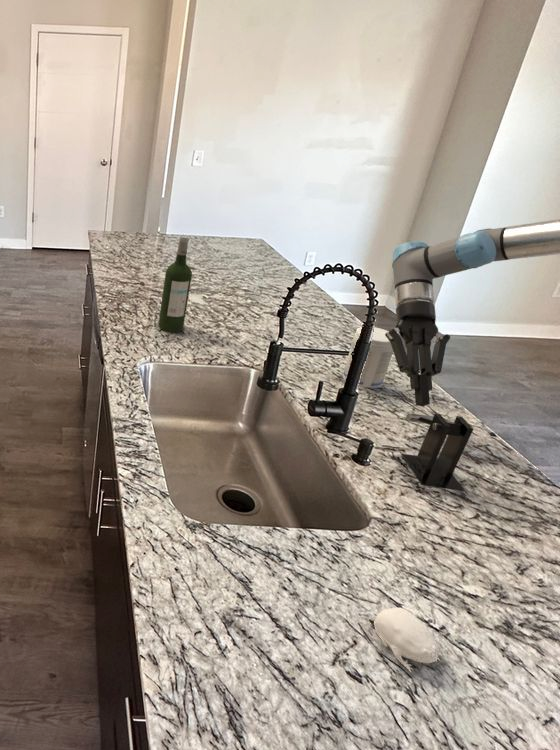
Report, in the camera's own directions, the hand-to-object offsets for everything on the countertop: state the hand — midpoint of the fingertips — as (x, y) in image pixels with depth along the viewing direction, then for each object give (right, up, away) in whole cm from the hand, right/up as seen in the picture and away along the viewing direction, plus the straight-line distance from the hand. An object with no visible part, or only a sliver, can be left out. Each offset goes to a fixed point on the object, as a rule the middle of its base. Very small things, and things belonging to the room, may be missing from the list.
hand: (422, 404), depth 117 cm
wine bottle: (-42, +17, +56) cm, 72 cm away
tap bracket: (-2, -14, -6) cm, 15 cm away
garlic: (-30, -29, -39) cm, 58 cm away
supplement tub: (+3, +2, +29) cm, 29 cm away
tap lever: (-1, -4, -6) cm, 7 cm away
